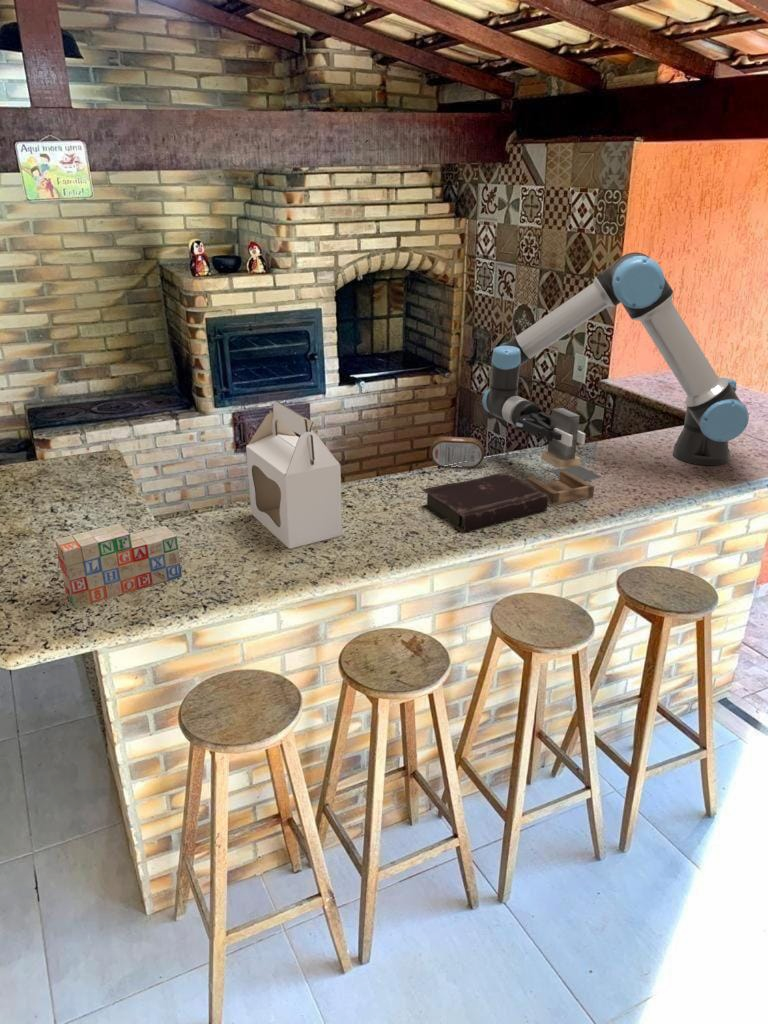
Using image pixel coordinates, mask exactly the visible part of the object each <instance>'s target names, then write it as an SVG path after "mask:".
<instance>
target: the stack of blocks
mask: <svg viewBox="0 0 768 1024" xmlns="http://www.w3.org/2000/svg"><path fill="white" fill-rule="evenodd" d="M54 542H55V545H56V550H57V559H58V563H59V567H60V568H59V569H60V571H61V576H62V580H63V584H64V585H63V586H64V591H65V595H66V594H67V595H66V597H67V598H68V597H69V598H68V599H70V600H69V601H70V602H71V604H72V605H74V606H73V608H79V607H82V606H85V605H90V604H93V603H97V601H98V602H101V601H104V600H108V599H111V598H114V597H117V596H121V594H122V595H123V593H124V594H127V593H129V592H130V593H131V592H134V591H137V590H140V589H142V588H146V587H150V586H153V585H158V584H161V583H164V582H167V581H171V580H175V579H177V578H181V577H183V575H182V574H183V572H182V564H181V556H180V549H179V544H178V543H179V542H178V536H177V535H176V534H175V533H174V532H173V531H172V530H170V528H168V527H167V526H166V525H163V526H160V527H159V526H158V527H155V528H152V529H146V530H143V531H140V532H136V533H132V534H130V533H129V532H128V531H127V530H126V529H125V527H123V526H122V525H121V523H115V524H112V525H108V526H104V527H99V528H96V529H92V530H89V531H85V532H82V533H81V532H80V533H77V534H73V535H68V536H63V537H60V538H56V539H55V541H54ZM107 598H108V599H107ZM103 599H104V600H103ZM100 600H101V601H100Z"/></svg>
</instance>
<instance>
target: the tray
mask: <svg viewBox="0 0 768 1024" xmlns="http://www.w3.org/2000/svg"><path fill="white" fill-rule="evenodd" d="M558 477H559V479H558V480H555V481H548V482H541V481H539V480H538V479H536V478H535V477H533V476H528V477H527V476H526V477H525V483H527V484H528V485H530V486H532V487H533V488H535V489H537V490H539V491H541V492H543V493H545V494H546V495H547V496H548V504H550V505H551V506H554V505H555V506H556V505H562V504H566V503H570V502H571V503H572V502H575V501H582V500H586V499H590V498H594V492H595V486H594V485H593V484H591V483H589V482H587V481H586V480H585V481H583V480H582V479H580V478H578V477H576V476H574V475H572V474H570V473H569V472H567V471H560V476H558Z"/></svg>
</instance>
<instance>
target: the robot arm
mask: <svg viewBox="0 0 768 1024" xmlns="http://www.w3.org/2000/svg"><path fill="white" fill-rule="evenodd" d="M674 294H675V292H674V290H673V289H672V287H671V285H670V283H669V282H668V280H667V279H666V277H665V274H664V271H663V269H662V267H661V266H660V265H659V263H658V262H657V261H656V260H654V259H652V258H651V257H650V256H649V255H646V253H645V254H644V253H642V252H635V251H634V252H629V253H626V254H624V255H622V256H620V257H619V258H617V259H616V260H615V261H614V262H613V263H612V264H610V265H609V266H607V267H606V268H605V269H604V270H603V271H602V272H600V273H598V274H597V275H596V276H594V278H593V282H592V283H591V284H589V285H588V286H587V287H585V288H584V289H582V290H581V291H579V292H578V293H577V294H575V295H574V296H572V297H571V298H569V299H568V300H566V301H565V302H563V303H562V304H560V305H559V306H558V307H557V308H555V309H554V310H552V311H550V312H549V313H548V314H546V315H545V316H543V317H542V318H541V319H539V320H538V321H537V322H535V323H534V324H532V325H531V326H529V327H528V328H526V329H524V330H523V331H521V332H520V333H519V334H517V335H516V336H514V338H512V339H511V340H509V341H506V342H503V343H502V344H500V346H496V347H494V348H493V349H492V350H493V351H492V357H491V371H490V372H491V373H490V374H491V375H490V385H489V386H490V387H489V388H488V389H487V390H486V391H485V392H484V394H483V396H482V401H481V402H482V403H481V404H482V406H483V409H484V410H485V411H486V412H488V413H490V415H492V416H493V417H496V418H498V419H501V420H503V421H504V422H507V423H508V424H510V425H513V427H514V428H515V429H516V430H521V431H523V432H526V433H528V434H529V435H532V436H534V437H537V438H539V439H545V438H547V439H546V441H547V442H549V441H552V438H553V439H555V440H557V441H559V442H561V443H563V444H565V445H567V446H569V447H571V446H572V440H573V435H571V434H568V433H566V432H564V431H562V430H560V429H558V428H554V430H553V428H552V427H550V425H551V415H550V414H548V413H545V412H543V411H542V409H541V406H539V405H538V404H536V403H535V402H532V401H531V400H528V399H526V398H523V397H521V396H519V395H518V391H519V390H518V389H519V380H520V379H519V377H520V370H521V369H520V367H521V366H522V365H523V364H525V363H527V362H528V361H529V360H531V359H532V358H533V357H535V356H536V355H538V354H539V353H540V352H542V351H544V350H545V349H547V348H548V347H550V346H552V345H553V344H555V343H556V342H557V341H559V340H560V339H562V338H563V337H564V336H566V335H568V334H570V333H571V332H572V331H573V330H575V329H576V328H579V326H581V325H582V324H584V323H585V322H587V321H589V320H590V319H591V318H593V317H595V316H596V315H598V314H600V312H602V311H603V310H605V309H606V308H608V307H611V308H612V307H616V306H618V305H619V304H622V306H623V308H624V309H625V311H626V313H627V314H628V316H629V317H630V319H631V320H634V321H638V322H640V323H641V325H642V326H643V327H644V329H645V331H646V332H647V334H648V336H649V338H651V340H652V342H653V343H654V345H655V346H656V348H657V350H658V351H659V353H660V355H661V356H662V358H663V359H664V361H665V363H666V364H667V365H668V366H667V367H668V368H669V369H670V370H671V372H672V374H673V375H674V377H675V378H676V380H677V382H678V383H679V384H680V386H681V388H682V390H683V391H684V393H685V394H686V400H685V406H686V411H685V417H684V424H683V428H682V431H681V432H680V434H679V436H678V438H677V440H676V442H675V444H674V446H673V449H672V455H673V456H674V457H675V458H676V459H678V460H680V461H682V462H684V463H685V462H686V463H689V464H694V465H698V466H699V465H701V466H722V465H724V464H726V463H729V460H730V455H731V450H730V449H729V441H732V440H734V439H736V438H738V437H739V436H740V435H742V434H743V433H744V431H746V429H747V427H748V424H749V419H750V417H749V416H750V415H749V412H748V408H747V406H746V405H745V404H744V403H743V402H741V400H740V398H739V396H738V395H737V393H736V391H737V381H736V380H735V379H732V378H727V377H719V376H718V375H717V373H716V371H715V370H714V368H713V367H712V365H711V363H710V362H709V360H708V358H707V356H706V355H705V354H704V352H703V350H702V348H701V347H700V346H699V344H698V342H697V340H696V339H695V337H694V335H693V334H692V332H691V331H690V329H689V327H688V326H687V324H686V323H685V321H684V319H683V318H682V315H681V314H680V312H679V311H678V309H677V308H676V307H675V304H674V302H673V298H674V297H673V296H674ZM585 440H586V433H585V432H582V431H581V430H579V429H578V434H577V443H578V444H580V445H585V443H586V442H585ZM577 443H576V444H577Z"/></svg>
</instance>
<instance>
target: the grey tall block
mask: <svg viewBox="0 0 768 1024" xmlns="http://www.w3.org/2000/svg"><path fill="white" fill-rule="evenodd" d="M550 416H551V425H550V427H552V428H553V430H554V428H558V429H560V430H562V431H564V432H566V433H568V434H571V435H573V440H572V446H571V447H569V446H567V445H565V444H563V443H561V442H559V441H557V440H555V439H553V438H552V441H548V447H547V450H542V451H541V456H540V460H542V461H544V462H545V463H547V464H549V465H552V466H553V467H555V468H556V469H565V468H571V467H577V466H581V461H582V458H581V457H579V456H577V455H576V450H577V434H578V430H579V425H580V416H581V415H580V414H577V413H576V412H573V411H570V410H568V409H566V408H563V407H559V408H552V409H551V415H550Z"/></svg>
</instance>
